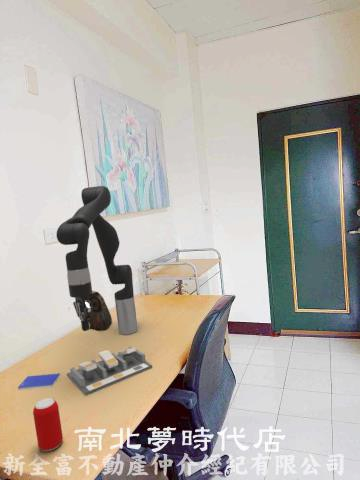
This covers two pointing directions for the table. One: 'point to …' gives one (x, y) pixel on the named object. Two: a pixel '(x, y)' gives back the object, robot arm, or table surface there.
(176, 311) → the table surface
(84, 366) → the rocker
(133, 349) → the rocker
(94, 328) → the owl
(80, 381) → the switch unit
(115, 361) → the rocker middle
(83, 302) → the robot arm
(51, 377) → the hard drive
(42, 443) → the beverage can
